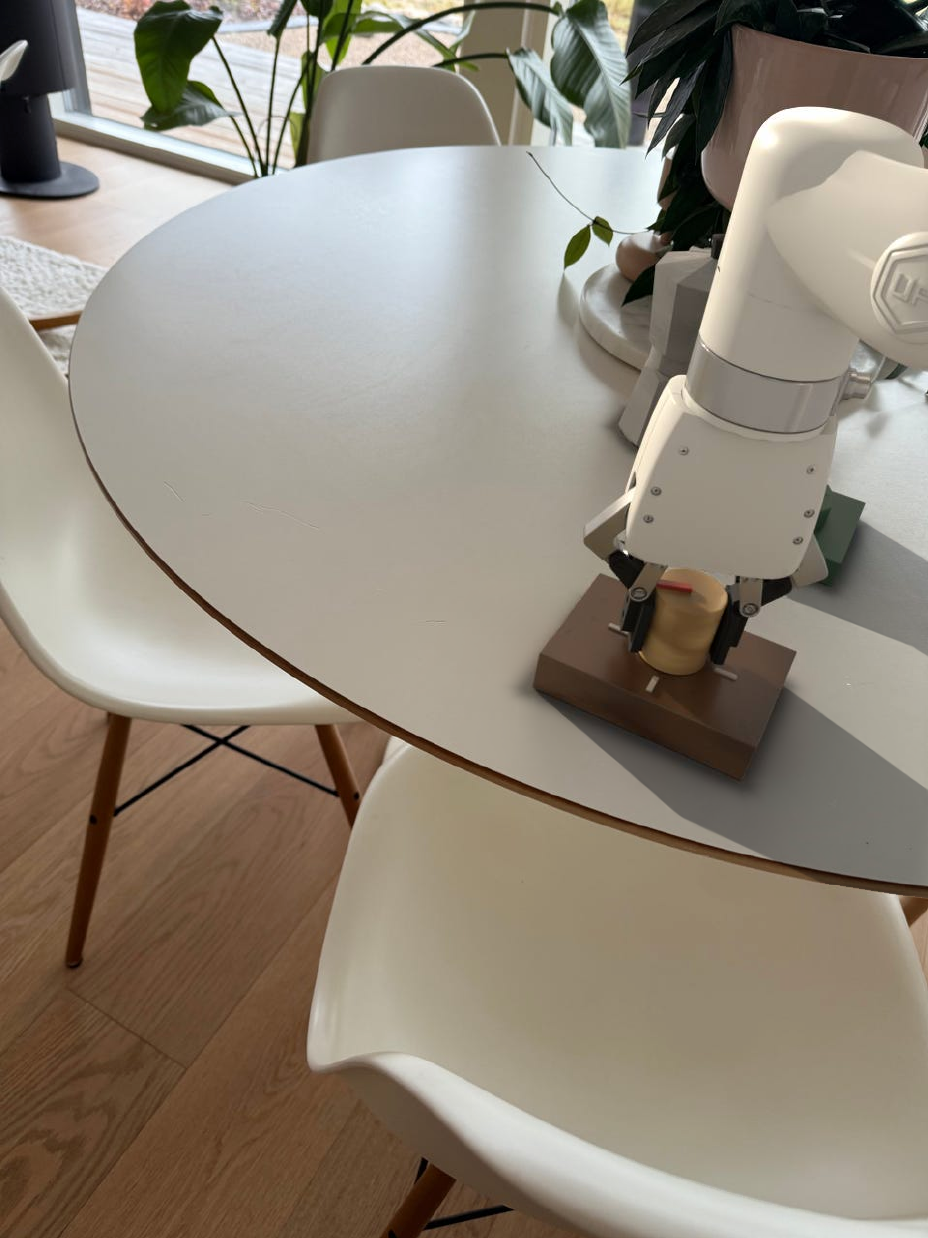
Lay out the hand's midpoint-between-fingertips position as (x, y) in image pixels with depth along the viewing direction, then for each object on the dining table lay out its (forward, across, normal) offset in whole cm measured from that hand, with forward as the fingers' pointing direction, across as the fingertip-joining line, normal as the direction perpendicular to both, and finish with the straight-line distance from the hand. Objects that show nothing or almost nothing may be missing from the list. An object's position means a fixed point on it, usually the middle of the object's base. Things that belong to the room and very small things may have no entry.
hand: (674, 641), depth 63 cm
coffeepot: (+4, -3, -32) cm, 33 cm away
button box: (+4, -11, -20) cm, 23 cm away
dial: (+1, 0, 0) cm, 1 cm away
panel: (+4, 0, 0) cm, 4 cm away
